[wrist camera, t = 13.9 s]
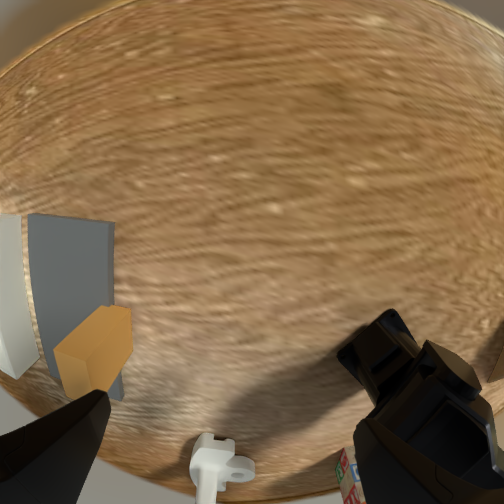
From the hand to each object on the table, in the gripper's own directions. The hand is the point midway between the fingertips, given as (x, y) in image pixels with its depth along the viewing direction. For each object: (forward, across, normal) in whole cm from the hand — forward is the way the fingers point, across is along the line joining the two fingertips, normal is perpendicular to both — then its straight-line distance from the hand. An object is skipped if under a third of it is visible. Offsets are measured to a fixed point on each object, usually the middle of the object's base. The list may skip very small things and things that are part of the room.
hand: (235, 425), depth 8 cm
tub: (+13, +26, +4) cm, 29 cm away
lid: (+13, +15, +5) cm, 20 cm away
